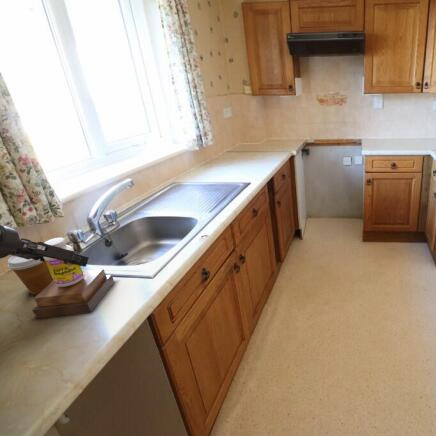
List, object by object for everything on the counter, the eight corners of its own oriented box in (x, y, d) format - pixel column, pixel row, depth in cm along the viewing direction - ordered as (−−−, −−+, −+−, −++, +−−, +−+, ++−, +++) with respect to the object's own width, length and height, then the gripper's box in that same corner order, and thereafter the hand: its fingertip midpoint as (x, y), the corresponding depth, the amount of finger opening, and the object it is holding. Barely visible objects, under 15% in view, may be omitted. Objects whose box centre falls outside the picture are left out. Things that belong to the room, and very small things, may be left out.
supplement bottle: (55, 290, 88) (36, 250, 83) (56, 279, 93) (38, 240, 88) (85, 281, 92) (68, 242, 86) (84, 271, 97) (68, 233, 91)
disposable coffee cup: (18, 301, 95) (-1, 267, 90) (30, 284, 103) (13, 252, 98) (57, 292, 98) (41, 259, 93) (66, 276, 106) (51, 244, 101)
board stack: (36, 318, 88) (27, 301, 85) (67, 287, 100) (59, 271, 98) (91, 312, 89) (83, 294, 87) (114, 282, 102) (108, 266, 99)
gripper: (31, 224, 72) (108, 250, 93) (-42, 222, 75) (50, 248, 96) (18, 256, 69) (101, 275, 91) (-57, 254, 72) (40, 273, 94)
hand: (74, 261), depth 93 cm, fingers closed on supplement bottle, 7 cm apart
